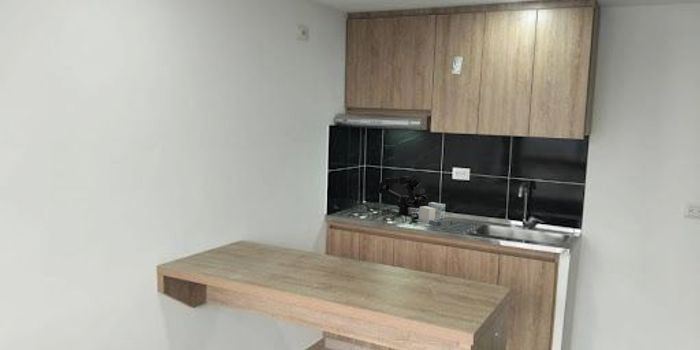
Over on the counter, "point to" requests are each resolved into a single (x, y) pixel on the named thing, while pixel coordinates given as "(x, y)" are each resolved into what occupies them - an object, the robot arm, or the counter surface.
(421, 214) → the white rectangular block
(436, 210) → the light bulb box
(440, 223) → the socket board
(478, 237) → the counter surface
